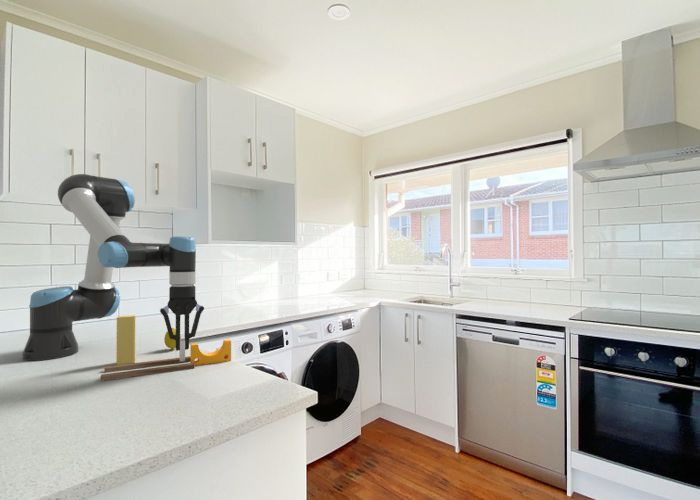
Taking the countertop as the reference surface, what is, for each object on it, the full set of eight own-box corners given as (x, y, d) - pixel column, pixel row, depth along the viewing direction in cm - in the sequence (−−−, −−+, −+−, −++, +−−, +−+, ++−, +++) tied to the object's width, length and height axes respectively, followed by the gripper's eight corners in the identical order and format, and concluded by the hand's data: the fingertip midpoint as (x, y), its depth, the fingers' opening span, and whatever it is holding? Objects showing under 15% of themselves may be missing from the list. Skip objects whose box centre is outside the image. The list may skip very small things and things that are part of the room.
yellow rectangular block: (117, 362, 120) (117, 316, 120) (135, 360, 122) (135, 314, 122) (116, 365, 116) (116, 317, 117) (134, 362, 119) (134, 316, 119)
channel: (105, 370, 111) (105, 366, 111) (191, 359, 122) (191, 356, 122) (100, 380, 101) (100, 376, 101) (194, 368, 113) (194, 364, 113)
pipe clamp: (228, 357, 124) (228, 338, 125) (231, 360, 121) (231, 340, 121) (189, 362, 119) (189, 342, 119) (191, 366, 115) (191, 345, 115)
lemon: (172, 352, 132) (172, 329, 132) (160, 350, 134) (160, 328, 134) (184, 348, 137) (184, 326, 137) (172, 347, 139) (172, 326, 139)
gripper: (203, 283, 123) (203, 354, 122) (159, 285, 117) (158, 360, 116) (205, 285, 116) (205, 360, 116) (159, 287, 110) (159, 366, 110)
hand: (182, 360), depth 116 cm, fingers closed
